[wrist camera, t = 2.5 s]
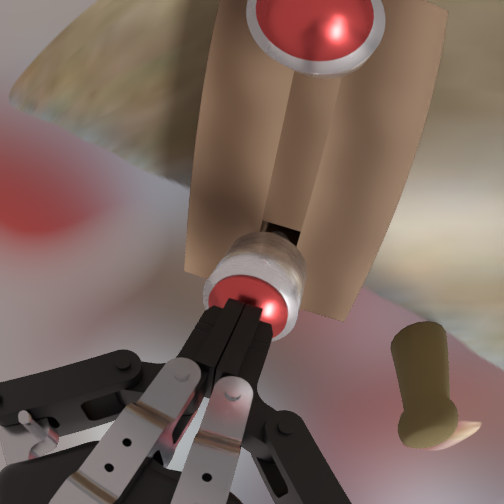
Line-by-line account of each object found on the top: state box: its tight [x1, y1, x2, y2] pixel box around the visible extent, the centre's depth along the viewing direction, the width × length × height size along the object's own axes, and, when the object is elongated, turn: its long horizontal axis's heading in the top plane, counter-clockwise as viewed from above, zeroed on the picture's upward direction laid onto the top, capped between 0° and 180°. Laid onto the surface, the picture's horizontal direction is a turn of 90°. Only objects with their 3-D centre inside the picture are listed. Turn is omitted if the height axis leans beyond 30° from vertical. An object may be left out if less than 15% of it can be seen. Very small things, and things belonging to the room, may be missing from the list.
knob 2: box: [246, 0, 385, 79], centre depth 9 cm, size 4×4×7 cm
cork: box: [391, 321, 458, 448], centre depth 21 cm, size 6×6×11 cm
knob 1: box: [203, 231, 307, 341], centre depth 16 cm, size 4×4×7 cm
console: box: [184, 0, 448, 322], centre depth 17 cm, size 12×21×5 cm, turn 170°
